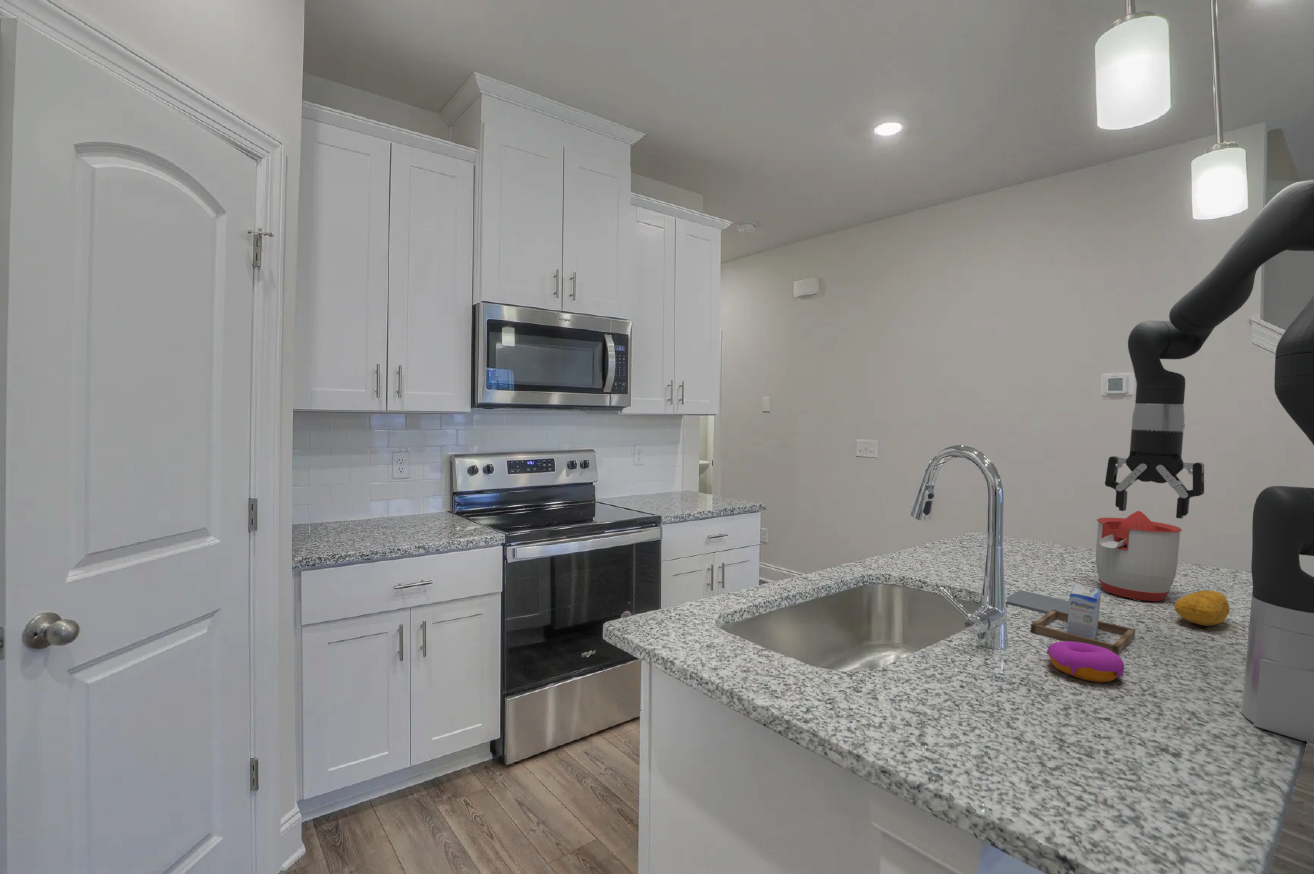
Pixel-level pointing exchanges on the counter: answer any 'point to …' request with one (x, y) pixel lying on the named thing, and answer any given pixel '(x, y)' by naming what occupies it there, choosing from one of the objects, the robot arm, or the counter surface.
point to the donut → (1086, 661)
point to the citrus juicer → (1137, 556)
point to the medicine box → (1084, 611)
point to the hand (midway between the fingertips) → (1150, 514)
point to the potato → (1203, 607)
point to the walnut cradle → (1064, 636)
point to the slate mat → (1037, 602)
